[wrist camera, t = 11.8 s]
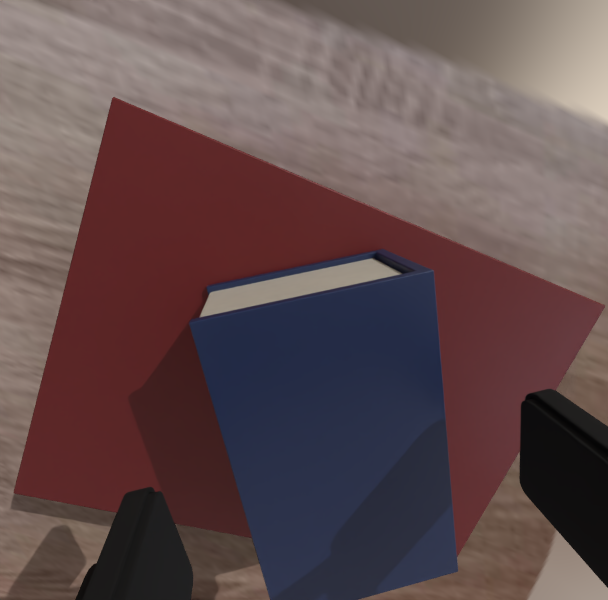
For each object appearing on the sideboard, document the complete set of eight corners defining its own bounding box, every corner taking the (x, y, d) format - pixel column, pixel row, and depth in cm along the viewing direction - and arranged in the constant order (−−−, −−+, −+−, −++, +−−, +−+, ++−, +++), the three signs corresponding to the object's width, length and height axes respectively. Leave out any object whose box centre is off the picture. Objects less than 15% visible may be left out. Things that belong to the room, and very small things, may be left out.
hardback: (67, 424, 19) (12, 493, 14) (151, 123, 15) (112, 96, 11) (410, 503, 23) (447, 575, 19) (529, 281, 20) (606, 305, 16)
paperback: (206, 285, 13) (188, 322, 9) (383, 248, 14) (434, 269, 10) (271, 522, 16) (276, 622, 13) (411, 486, 17) (458, 571, 13)
